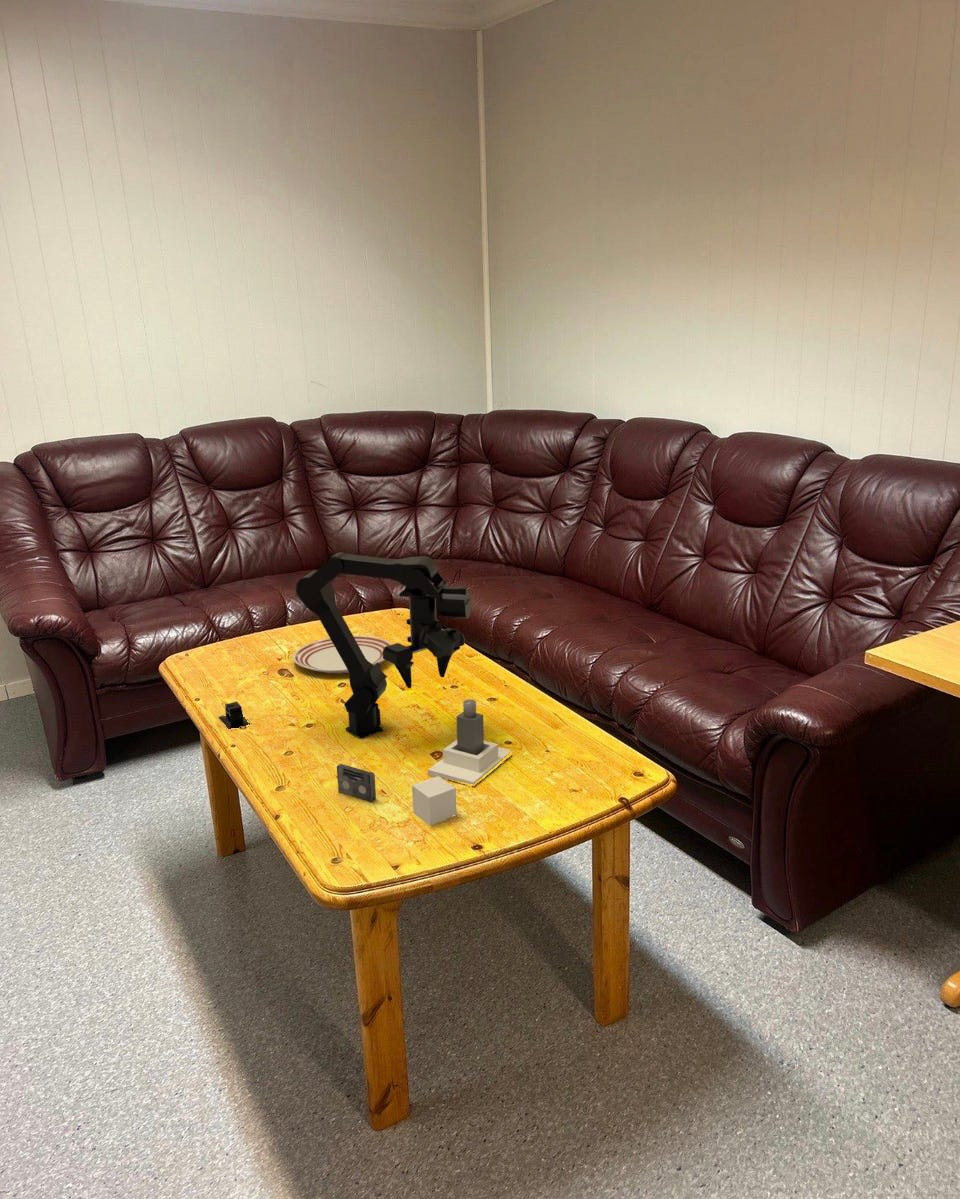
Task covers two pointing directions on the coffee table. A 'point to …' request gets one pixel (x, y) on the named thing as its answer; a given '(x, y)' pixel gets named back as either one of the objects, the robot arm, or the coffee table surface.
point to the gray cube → (434, 800)
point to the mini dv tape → (356, 783)
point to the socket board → (467, 763)
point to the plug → (470, 729)
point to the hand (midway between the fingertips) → (425, 682)
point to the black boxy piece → (233, 716)
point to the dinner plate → (337, 654)
